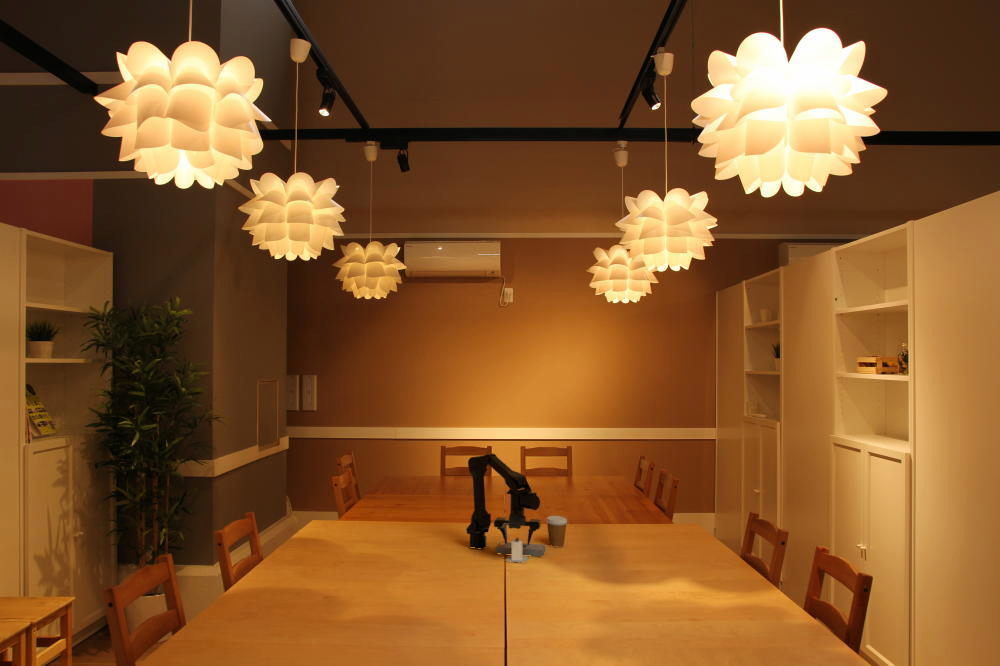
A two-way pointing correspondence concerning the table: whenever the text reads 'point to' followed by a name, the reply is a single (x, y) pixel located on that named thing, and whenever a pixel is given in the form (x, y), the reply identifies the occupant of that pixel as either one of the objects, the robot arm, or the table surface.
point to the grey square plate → (517, 560)
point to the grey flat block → (527, 549)
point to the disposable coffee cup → (556, 530)
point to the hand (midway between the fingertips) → (517, 544)
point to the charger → (517, 549)
